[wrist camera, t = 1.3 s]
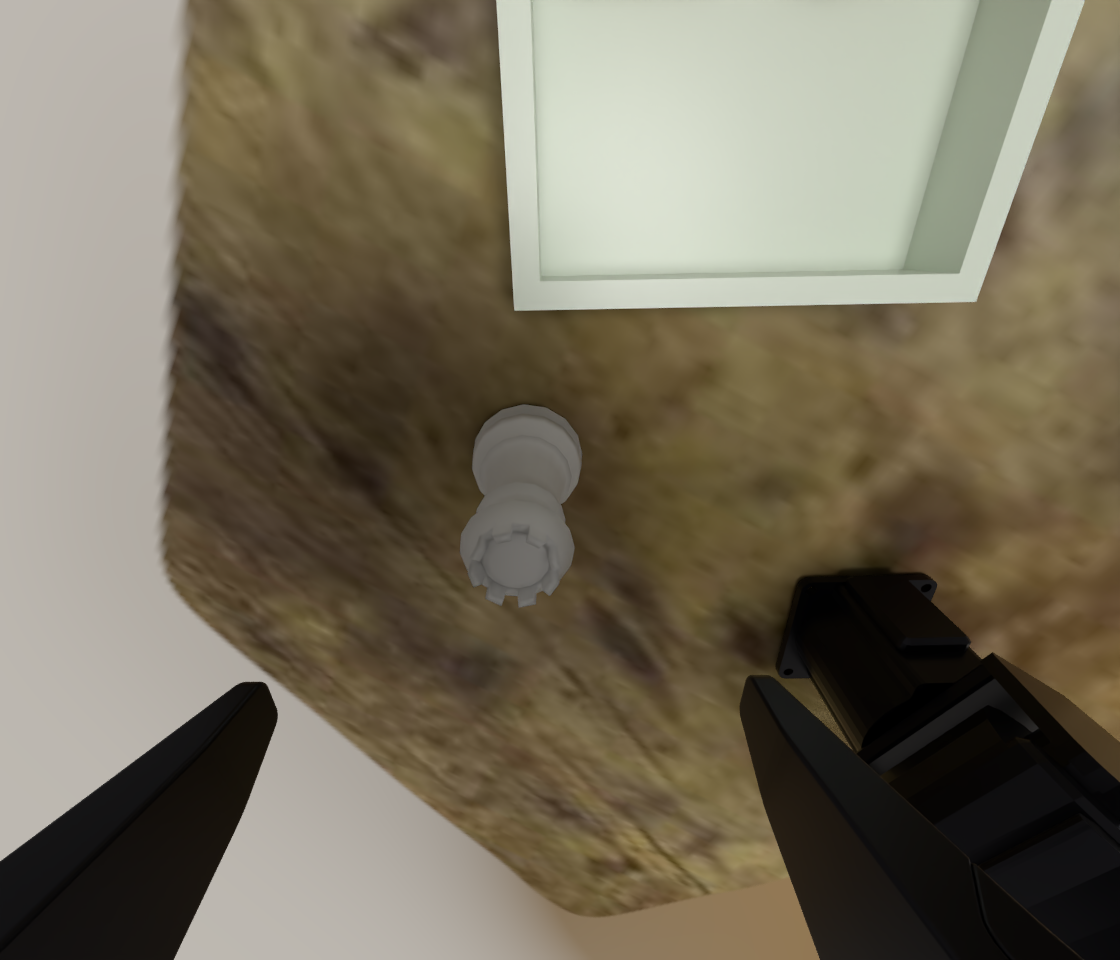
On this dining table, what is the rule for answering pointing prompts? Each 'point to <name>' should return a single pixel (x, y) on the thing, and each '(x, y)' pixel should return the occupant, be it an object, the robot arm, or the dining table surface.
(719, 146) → the tray
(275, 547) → the dining table surface
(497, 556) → the rook chess piece
